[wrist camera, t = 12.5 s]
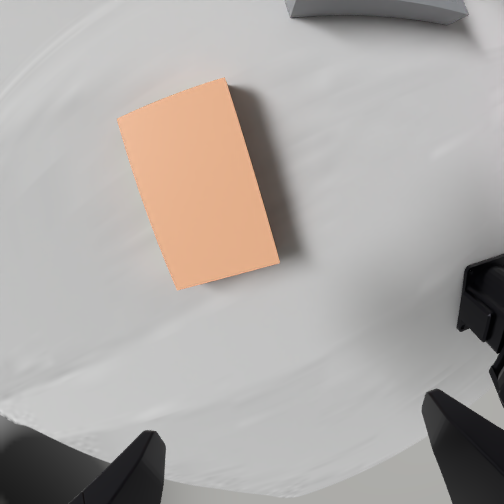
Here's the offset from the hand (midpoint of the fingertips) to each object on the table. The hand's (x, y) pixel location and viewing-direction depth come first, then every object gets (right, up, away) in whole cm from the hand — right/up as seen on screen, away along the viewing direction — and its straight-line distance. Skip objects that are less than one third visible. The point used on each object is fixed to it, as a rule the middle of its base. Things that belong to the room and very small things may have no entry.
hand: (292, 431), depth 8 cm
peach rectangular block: (-3, +4, +11) cm, 12 cm away
